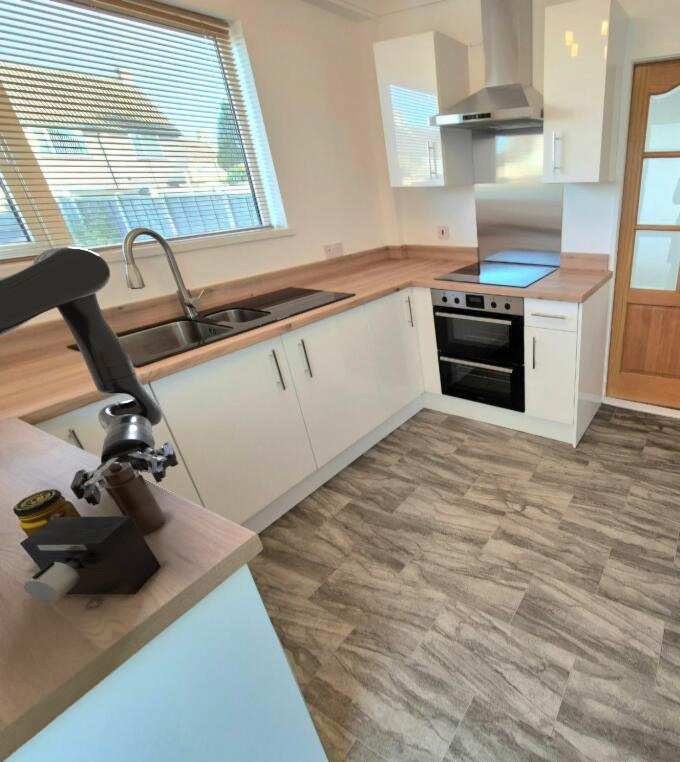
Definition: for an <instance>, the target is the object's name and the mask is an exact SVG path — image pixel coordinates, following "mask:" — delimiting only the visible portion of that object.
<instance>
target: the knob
mask: <svg viewBox="0 0 680 762" xmlns="http://www.w3.org/2000/svg"><path fill="white" fill-rule="evenodd" d="M80 565H81V562H80V561H79V559H78V558H72V559H71V560H70V561H69V562H68V563H66V564H64V563H61V562H50V563H48V564H47V565H46V566H45V567H44V568H42V569H40V570H39V571H37V572H36V573H35V574H34V575H32V577H30V578H29V579H28V580H26V581H25V582H24V584H23V588H24V590H25V591H26V593H27V594H28V595H29V596H31V597H33V598H34V599H36V600H38V601H41V602H42V603H43V602H44V603H56V602H58V601H59V600H61V599H62V598H63V597H64V596H65V595H67V594H66V593H67V592H68V591H69V590H70V589H71V588H72V587H74V586H75V585H76V584H77V583H78V582H79V581H80V575H79V573H78V572H77V571H76V569H77V568H78V567H79V566H80Z"/></svg>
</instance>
